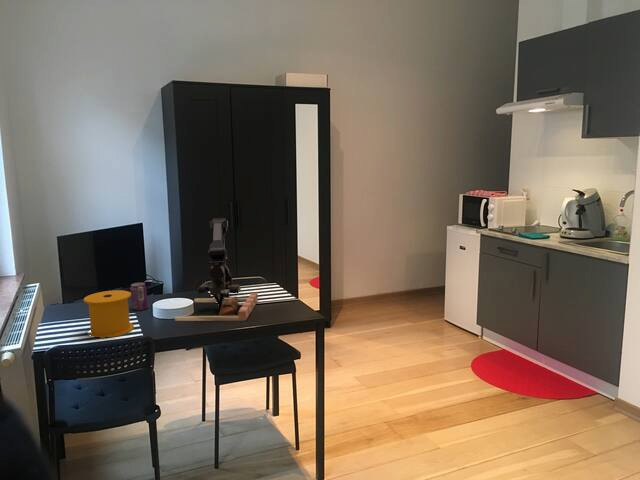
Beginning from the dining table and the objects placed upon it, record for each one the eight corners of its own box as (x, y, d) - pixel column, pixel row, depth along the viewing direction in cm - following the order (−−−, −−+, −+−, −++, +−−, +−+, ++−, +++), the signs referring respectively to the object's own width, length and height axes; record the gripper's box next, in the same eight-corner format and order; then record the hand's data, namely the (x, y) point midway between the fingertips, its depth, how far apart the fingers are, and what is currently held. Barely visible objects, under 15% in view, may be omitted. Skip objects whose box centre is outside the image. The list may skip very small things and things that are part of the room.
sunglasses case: (220, 304, 249) (226, 292, 248) (233, 310, 250) (239, 298, 250) (218, 316, 231) (225, 303, 231) (232, 322, 233) (239, 310, 232)
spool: (87, 341, 204) (83, 304, 202) (87, 327, 220) (83, 293, 218) (135, 333, 211) (132, 298, 209) (132, 321, 227) (129, 287, 225)
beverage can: (150, 306, 248) (148, 282, 246) (144, 311, 241) (141, 286, 239) (136, 306, 249) (134, 282, 247) (129, 311, 242) (127, 286, 240)
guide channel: (195, 301, 256) (194, 293, 255) (257, 300, 254) (257, 292, 253) (175, 320, 226) (174, 312, 225) (245, 320, 224) (245, 311, 223)
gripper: (192, 278, 230) (195, 312, 232) (234, 278, 228) (236, 312, 231) (200, 272, 241) (202, 305, 243) (240, 272, 239) (241, 305, 242)
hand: (220, 307), depth 240 cm, fingers closed
